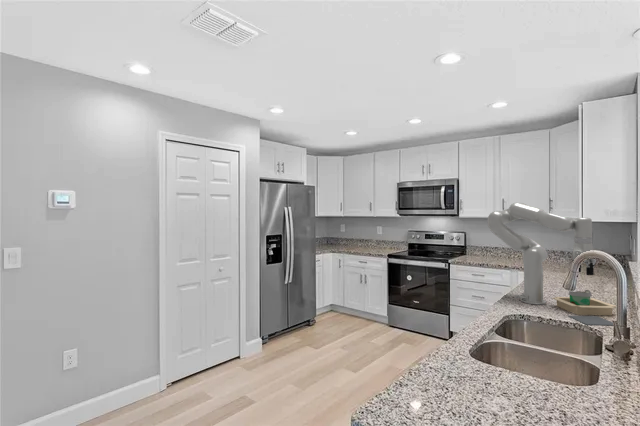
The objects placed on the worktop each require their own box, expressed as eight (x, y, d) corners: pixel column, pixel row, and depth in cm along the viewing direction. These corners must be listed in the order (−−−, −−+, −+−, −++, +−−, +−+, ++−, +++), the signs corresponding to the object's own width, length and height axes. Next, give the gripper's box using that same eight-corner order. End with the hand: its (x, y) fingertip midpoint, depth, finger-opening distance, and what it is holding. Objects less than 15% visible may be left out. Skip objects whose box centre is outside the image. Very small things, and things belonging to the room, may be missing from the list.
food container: (579, 312, 182) (579, 293, 182) (568, 309, 187) (568, 290, 188) (597, 311, 185) (597, 292, 185) (586, 308, 191) (586, 289, 191)
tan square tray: (574, 315, 176) (574, 306, 176) (549, 304, 198) (549, 296, 198) (621, 316, 174) (621, 307, 174) (590, 305, 196) (590, 297, 196)
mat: (586, 325, 161) (586, 324, 161) (567, 316, 175) (567, 315, 175) (619, 325, 160) (619, 325, 160) (597, 316, 174) (597, 316, 174)
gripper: (565, 240, 195) (565, 271, 195) (586, 242, 178) (587, 276, 178) (579, 240, 195) (580, 271, 194) (602, 242, 177) (603, 276, 177)
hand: (583, 273), depth 186 cm, fingers open, 9 cm apart
